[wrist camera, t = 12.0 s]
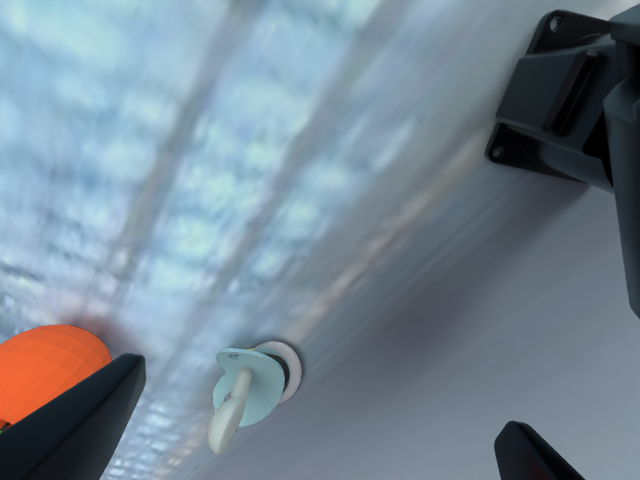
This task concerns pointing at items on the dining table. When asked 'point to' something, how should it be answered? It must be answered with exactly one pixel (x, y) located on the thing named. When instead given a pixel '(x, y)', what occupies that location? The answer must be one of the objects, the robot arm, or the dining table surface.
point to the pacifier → (250, 389)
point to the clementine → (45, 367)
